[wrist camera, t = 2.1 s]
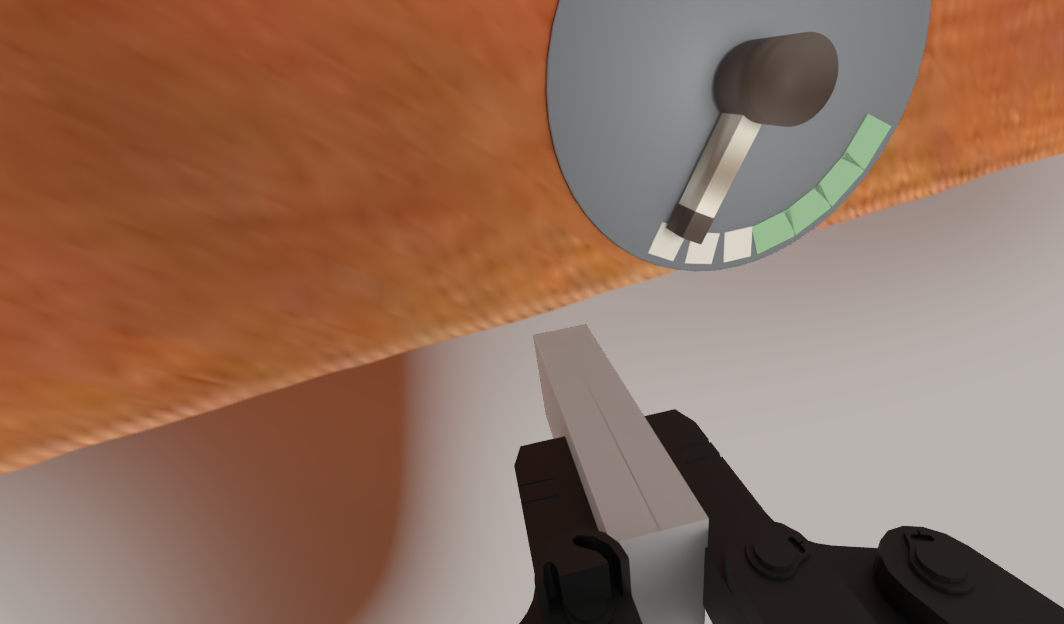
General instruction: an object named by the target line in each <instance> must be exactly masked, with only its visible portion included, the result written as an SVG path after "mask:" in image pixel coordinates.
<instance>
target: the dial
mask: <svg viewBox="0 0 1064 624" xmlns="http://www.w3.org/2000/svg"><path fill="white" fill-rule="evenodd" d="M930 6H931V0H559V1H558V5H557V9H556V13H555V17H554V20H553V24H552V29H551V36H550V43H549V49H548V56H547V75H546V98H547V111H548V122H549V127H550V132H551V137H552V142H553V147H554V150H555V153H556V156H557V159H558V162H559V165H560V168H561V171H562V174H563V176H564V178H565V180H566V182H567V184H568V186H569V188H570V190H571V192H572V194H573V196H574V198H575V199H576V201H577V202H578V204H579V205H580V207H581V208H582V209H583V211H584V212H585V214H586V215H587V216H588V218H589V219H590V220H591V221H592V222H593V223H594V224H595V225H596V226H597V227H598V229H599V230H600V231H601V232H602V233H603V234H605V235H606V236H607V237H608V238H610V239H611V240H612V241H613V242H614V243H616V244H617V245H618V246H619V247H621V248H623V249H624V250H626V251H628V252H629V253H631V254H633V255H634V256H636V257H638V258H641V259H643V260H645V261H648V262H650V263H653V264H655V265H659V266H663V267H667V268H672V269H676V270H687V271H712V270H720V269H726V268H732V267H737V266H740V265H744V264H747V263H750V262H754V261H757V260H759V259H761V258H764V257H766V256H768V255H771V254H773V253H775V252H777V251H779V250H781V249H783V248H784V247H786V246H787V245H790V244H792V243H793V242H795V241H797V240H798V239H800V238H801V237H802V236H804V235H805V234H807V233H808V232H810V231H811V230H812V229H814V228H815V227H816V226H818V225H819V224H820V223H821V222H822V221H823V220H825V219H826V218H827V217H828V216H829V215H830V214H832V213H833V212H834V211H835V210H836V209H837V208H838V207H839V206H840V205H841V204H842V203H843V202H844V201H845V200H846V199H847V198H848V197H849V196H850V195H851V193H852V192H853V191H854V190H855V189H856V187H857V186H858V185H859V184H860V182H861V181H862V180H863V179H864V178H865V176H866V175H867V174H868V172H869V171H870V170H871V168H872V167H873V165H874V164H875V162H876V161H877V159H878V158H879V156H880V155H881V153H882V152H883V150H884V149H885V147H886V145H887V143H888V141H889V140H890V138H891V136H892V134H893V133H894V131H895V129H896V127H897V125H898V123H899V121H900V118H901V116H902V114H903V112H904V110H905V108H906V105H907V103H908V101H909V98H910V95H911V92H912V90H913V87H914V84H915V81H916V78H917V75H918V72H919V68H920V64H921V60H922V56H923V52H924V49H925V44H926V38H927V31H928V25H929V19H930ZM802 32H817V33H820V34H822V35H824V36H826V37H827V38H828V39H829V40H830V41H831V42H832V44H833V45H834V47H835V49H836V52H837V55H838V63H839V69H838V77H837V81H836V85H835V88H834V90H833V92H832V94H831V96H830V98H829V100H828V102H827V103H826V104H825V106H824V107H823V108H822V109H821V111H820V112H819V113H818V114H817V115H815V116H814V117H813V118H812V119H810V120H809V121H807V122H805V123H803V124H801V125H798V126H793V127H783V126H774V125H766V124H762V125H761V127H760V129H759V131H758V133H757V135H756V137H755V139H754V141H753V143H752V145H751V147H750V149H749V151H748V152H747V154H746V156H745V158H744V160H743V162H742V164H741V166H740V168H739V170H738V172H737V174H736V176H735V178H734V180H733V182H732V184H731V186H730V187H729V189H728V191H727V193H726V195H725V197H724V199H723V201H722V203H721V205H720V207H719V209H718V211H717V213H716V215H715V217H714V221H713V223H712V225H711V227H710V229H709V231H708V232H707V234H706V236H705V238H704V240H703V242H702V244H698V243H695V242H692V241H689V240H686V239H683V238H681V237H680V236H678V235H676V234H675V233H673V232H672V231H670V230H668V229H667V228H666V227H667V225H668V223H669V221H670V219H671V217H672V214H673V212H674V210H675V208H676V206H677V204H678V203H679V202H680V200H681V198H682V196H683V194H684V192H685V189H686V187H687V185H688V183H689V181H690V179H691V177H692V175H693V173H694V171H695V169H696V167H697V164H698V162H699V160H700V158H701V156H702V154H703V152H704V150H705V148H706V146H707V144H708V141H709V139H710V137H711V135H712V133H713V131H714V129H715V127H716V125H717V123H718V121H719V119H720V116H721V114H722V112H721V111H720V109H719V108H718V105H717V103H716V100H715V93H714V87H715V79H716V75H717V72H718V70H719V67H720V65H721V63H722V62H723V60H724V58H725V57H726V56H727V55H728V53H729V52H730V51H731V50H732V49H734V48H735V47H736V46H738V45H739V44H741V43H743V42H745V41H749V40H754V39H761V38H768V37H775V36H782V35H789V34H796V33H802Z"/></svg>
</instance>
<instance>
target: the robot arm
mask: <svg viewBox="0 0 1064 624" xmlns="http://www.w3.org/2000/svg"><path fill="white" fill-rule="evenodd" d="M533 337H534V343H535V349H536V356H537V362H538V369H539V375H540V381H541V387H542V393H543V399H544V406H545V412H546V416H547V420H548V422H549V426H550V429H551V432H552V435H553V438H554V439H551V440H547V441H542V442H538V443H533V444H529V445H525V446H521V447H520V450H519V453H518V456H517V460H516V462H515V472H516V477H517V482H518V487H519V493H520V498H521V503H522V509H523V514H524V520H525V524H526V530H527V535H528V541H529V546H530V551H531V557H532V562H533V567H534V573H535V592H534V598H533V601H532V603H531V605H530V608H529V610H528V612H527V614H526V615H525V617H524V618H523V619H522V621H521V622H520V623H519V624H704V622H705V621H704V620H705V610H706V612H707V614H708V616H709V617H710V619H711V621H712V623H713V624H1064V608H1062V607H1061V606H1059V605H1058V604H1056V603H1055V602H1053V601H1052V600H1050V599H1049V598H1047V597H1046V596H1044V595H1043V594H1041V593H1039V592H1038V591H1036V590H1035V589H1033V588H1032V587H1030V586H1029V585H1027V584H1026V583H1024V582H1023V581H1021V580H1020V579H1018V578H1016V577H1015V576H1013V575H1012V574H1010V573H1009V572H1007V571H1006V570H1004V569H1003V568H1001V567H999V566H998V565H997V564H995V563H994V562H992V561H991V560H989V559H988V558H986V557H984V556H983V555H981V554H980V553H978V552H977V551H975V550H974V549H972V548H971V547H969V546H967V545H965V544H964V543H962V542H960V541H958V540H956V539H954V538H952V537H950V536H948V535H947V534H944V533H941V532H938V531H934V530H931V529H927V528H924V527H913V526H901V527H898V528H895V529H892V530H889V531H887V533H886V534H885V535H884V536H883V538H882V539H881V541H880V543H879V546H878V548H864V547H847V546H831V545H824V544H818V543H814V542H811V541H808V540H807V539H806V538H805V537H803V536H802V535H801V534H800V533H799V532H797V531H795V530H793V529H791V528H789V527H787V526H786V525H784V524H782V523H778V522H774V521H773V520H772V519H771V518H770V517H769V516H768V515H767V514H766V512H765V511H764V510H763V509H762V507H761V506H760V505H759V504H758V502H757V501H756V500H755V499H754V497H753V496H752V495H751V493H750V492H749V491H748V490H747V488H746V487H745V486H744V484H743V483H742V482H741V480H740V479H739V478H738V477H737V475H736V474H735V473H734V471H733V470H732V469H731V468H730V466H729V465H728V464H727V462H726V461H725V460H724V459H723V457H720V454H719V452H718V451H717V450H716V448H715V447H714V446H713V444H712V443H711V442H710V443H709V441H708V438H707V437H706V435H705V434H704V433H703V432H702V430H701V429H700V428H699V426H698V425H697V424H696V423H695V422H694V421H693V420H691V419H690V418H688V417H686V416H685V415H683V414H681V413H680V412H678V411H677V410H675V409H674V410H670V411H666V412H661V413H657V414H652V415H648V416H644V415H643V414H642V412H641V411H640V409H639V407H638V406H637V404H636V402H635V401H634V399H633V398H632V396H631V395H630V393H629V391H628V390H627V388H626V387H625V385H624V383H623V382H622V380H621V379H620V377H619V376H618V374H617V372H616V371H615V369H614V368H613V366H612V365H611V363H610V361H609V360H608V358H607V357H606V355H605V353H604V352H603V350H602V349H601V347H600V346H599V344H598V342H597V341H596V339H595V338H594V336H593V334H592V333H591V331H590V330H589V328H588V326H587V325H586V324H585V325H580V326H575V327H570V328H565V329H560V330H556V331H551V332H546V333H541V334H536V335H533Z"/></svg>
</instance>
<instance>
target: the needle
mask: <svg viewBox="0 0 1064 624" xmlns="http://www.w3.org/2000/svg"><path fill="white" fill-rule="evenodd" d="M838 69H839V63H838V55H837V52H836V49H835V47H834V45H833V44H832V42H831V41H830V40H829V39H828V38H827V37H826V36H824V35H822V34H820V33H817V32H802V33H796V34H789V35H782V36H775V37H768V38H761V39H754V40H749V41H745V42H743V43H741V44H739V45H738V46H736V47H735V48H734V49H732V50H731V51H730V52H729V53H728V55H727V56H726V57H725V58H724V60H723V62H722V63H721V65H720V67H719V70H718V72H717V75H716V79H715V87H714V93H715V100H716V103H717V105H718V108H719V109H720V111H721V112H722V114H721V116H720V119H719V121H718V123H717V125H716V127H715V129H714V131H713V133H712V135H711V137H710V139H709V141H708V144H707V146H706V148H705V150H704V152H703V154H702V156H701V158H700V160H699V162H698V164H697V167H696V169H695V171H694V173H693V175H692V177H691V179H690V181H689V183H688V185H687V187H686V189H685V192H684V194H683V196H682V198H681V200H680V202H679V203H678V204H677V206H676V208H675V210H674V212H673V214H672V217H671V219H670V221H669V223H668V225H667V227H666V228H667V229H668V230H670V231H672V232H673V233H675V234H676V235H678V236H680V237H681V238H683V239H686V240H689V241H692V242H695V243H698V244H702V242H703V240H704V238H705V236H706V234H707V232H708V231H709V229H710V227H711V225H712V223H713V221H714V217H715V215H716V213H717V211H718V209H719V207H720V205H721V203H722V201H723V199H724V197H725V195H726V193H727V191H728V189H729V187H730V186H731V184H732V182H733V180H734V178H735V176H736V174H737V172H738V170H739V168H740V166H741V164H742V162H743V160H744V158H745V156H746V154H747V152H748V151H749V149H750V147H751V145H752V143H753V141H754V139H755V137H756V135H757V133H758V131H759V129H760V127H761V125H762V124H766V125H774V126H783V127H793V126H798V125H801V124H803V123H805V122H807V121H809V120H810V119H812V118H813V117H814V116H815V115H817V114H818V113H819V112H820V111H821V109H822V108H823V107H824V106H825V104H826V103H827V102H828V100H829V98H830V96H831V94H832V92H833V90H834V88H835V85H836V81H837V77H838Z"/></svg>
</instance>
